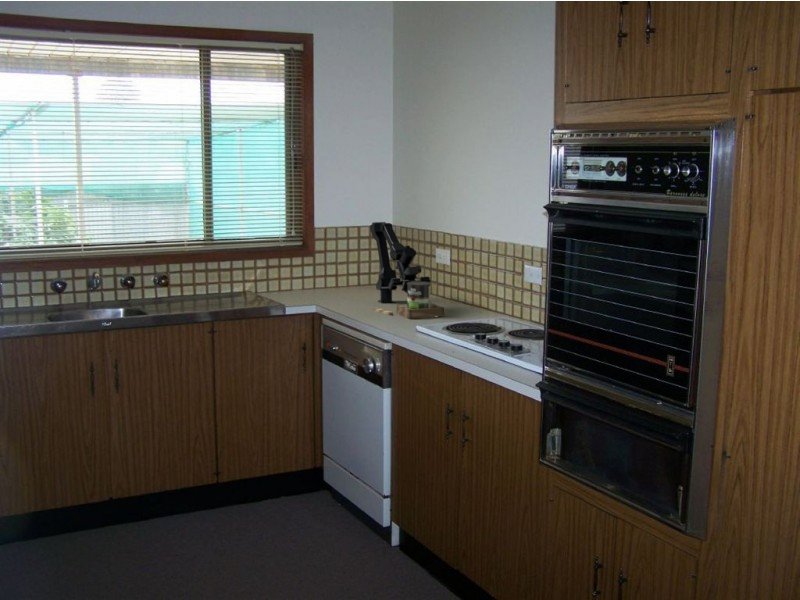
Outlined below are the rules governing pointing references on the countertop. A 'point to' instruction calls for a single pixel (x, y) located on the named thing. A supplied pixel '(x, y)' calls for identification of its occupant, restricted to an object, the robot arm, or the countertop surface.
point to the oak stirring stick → (383, 311)
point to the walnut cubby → (421, 311)
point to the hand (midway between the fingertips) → (414, 298)
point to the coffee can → (418, 295)
